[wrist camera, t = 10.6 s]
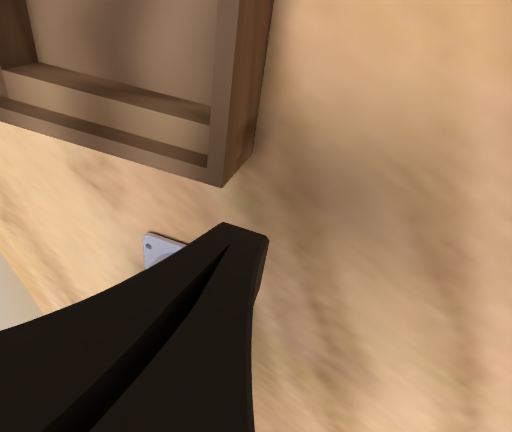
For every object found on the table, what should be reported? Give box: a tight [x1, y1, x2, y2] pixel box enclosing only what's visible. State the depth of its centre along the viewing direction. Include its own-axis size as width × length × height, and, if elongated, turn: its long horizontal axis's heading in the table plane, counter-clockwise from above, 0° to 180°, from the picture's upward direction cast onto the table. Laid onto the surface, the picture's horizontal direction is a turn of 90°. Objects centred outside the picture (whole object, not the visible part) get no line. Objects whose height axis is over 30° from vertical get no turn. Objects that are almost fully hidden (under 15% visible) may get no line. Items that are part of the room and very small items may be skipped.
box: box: [0, 0, 274, 188], centre depth 16 cm, size 14×12×4 cm
